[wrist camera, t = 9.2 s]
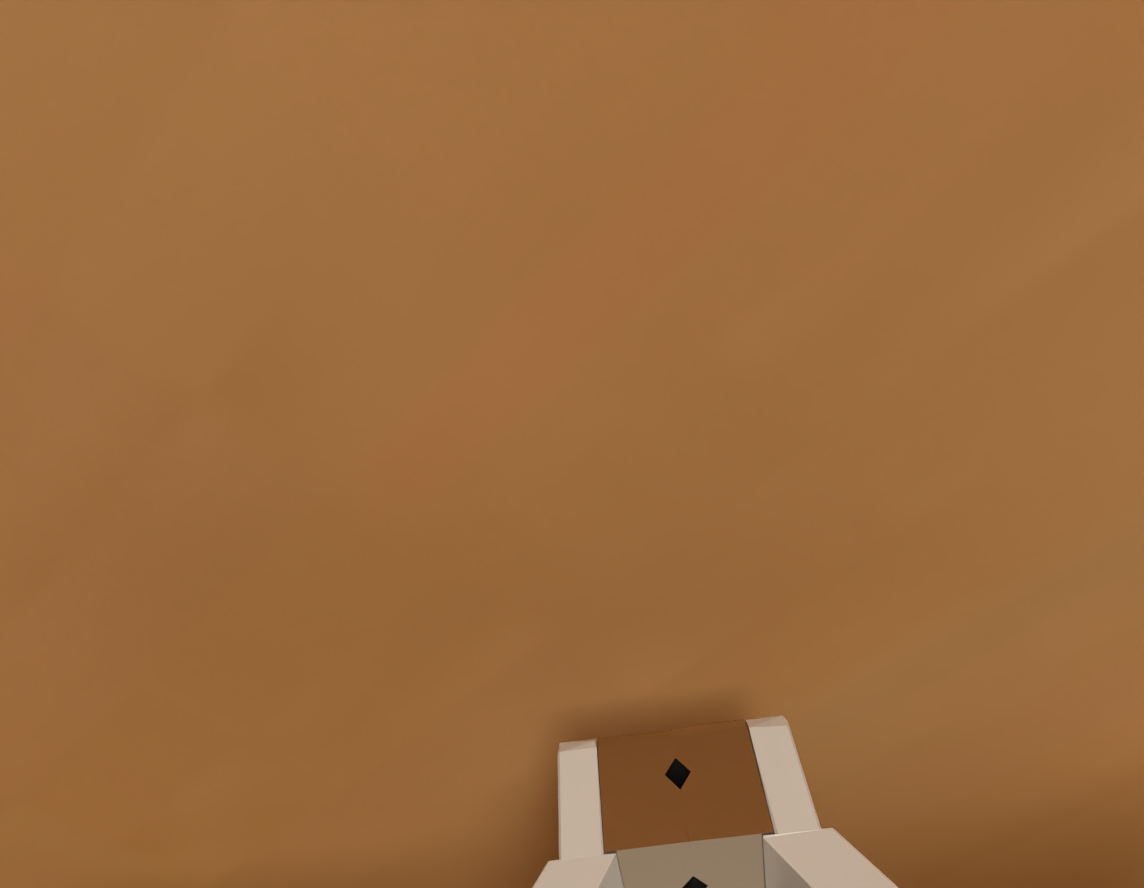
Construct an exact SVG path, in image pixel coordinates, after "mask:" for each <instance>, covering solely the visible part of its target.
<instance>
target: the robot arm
mask: <svg viewBox="0 0 1144 888" xmlns="http://www.w3.org/2000/svg"><path fill="white" fill-rule="evenodd" d="M558 817H559V859H557V860H551V861H548V862H547V863H546V865H545V867H544V868H543V870H542V872H541V873H540V875H539V877H538V878H537V880H536V882H535V883H534V885H533V887H532V888H899V887H897V886H896V885H895V884H894V883H893V882H892V881H891V880H890V879H889V878H888V877H886V876H885V875H884V874H883V873H882V872H881V871H880V870H879V869H878V868H877V867H876V866H874V865H873V864H872V863H871V862H870V861H869V860H868V859H867V858H866V857H865V856H863V855H862V854H861V853H860V852H859V851H858V850H857V849H856V848H855V847H854V846H853V845H851V844H850V843H849V842H848V841H847V840H846V839H845V838H844V837H843V836H842V835H840V834H839V833H838V832H837V831H836V830H835V829H834V828H822V829H821V827H820V823H819V820H818V817H817V814H816V811H815V807H814V804H813V801H812V798H811V794H810V791H809V788H808V785H807V782H806V778H805V775H804V772H803V769H802V765H801V762H800V759H799V756H798V753H797V749H796V746H795V743H794V740H793V736H792V733H791V730H790V727H789V724H788V721H787V720H786V719H785V717H784V716H783V715H781V716H773V717H765V718H758V719H750V720H746V721H744V719H743V720H735V721H728V722H721V723H714V724H707V725H700V726H692V727H685V728H678V729H671V731H667V732H657V733H647V734H637V735H626V736H616V737H606V738H598V739H597V738H596V739H587V740H579V741H570V742H562V743H560V744H559V750H558Z"/></svg>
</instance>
